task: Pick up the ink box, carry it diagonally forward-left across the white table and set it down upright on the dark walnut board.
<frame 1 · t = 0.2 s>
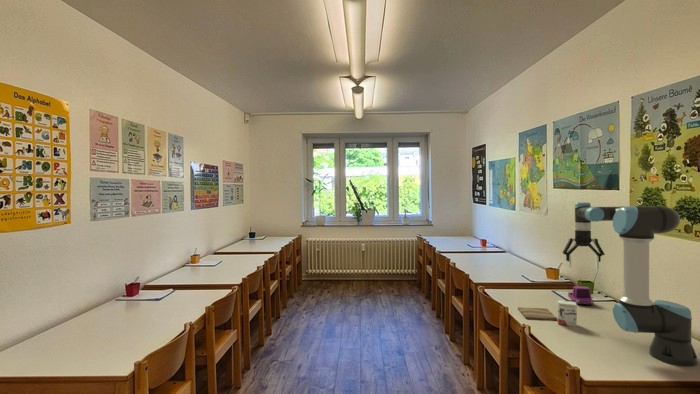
hand: (583, 267, 201), 28 cm above the table, fingers open, 13 cm apart
walnut board: (536, 314, 204), on the table
ink box: (567, 324, 190), on the table
toy truck: (580, 302, 225), on the table
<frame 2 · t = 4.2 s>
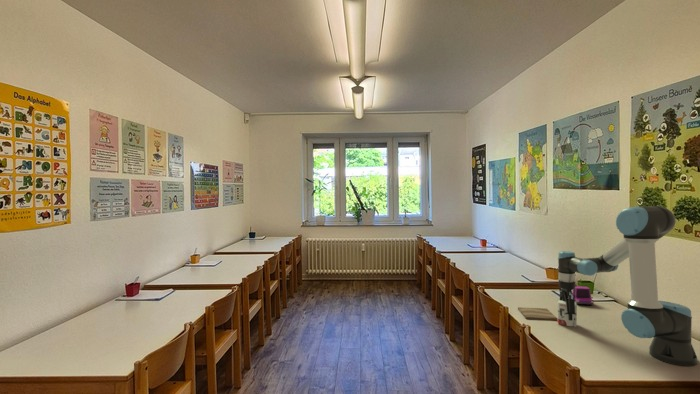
hand: (567, 323, 190), 0 cm above the table, fingers closed on ink box, 6 cm apart
ink box: (567, 324, 190), on the table, touching gripper
everything else where it was.
when the fingers open (3 cm above the table, at t = 9.4 s): ink box drops 1 cm, resting on walnut board.
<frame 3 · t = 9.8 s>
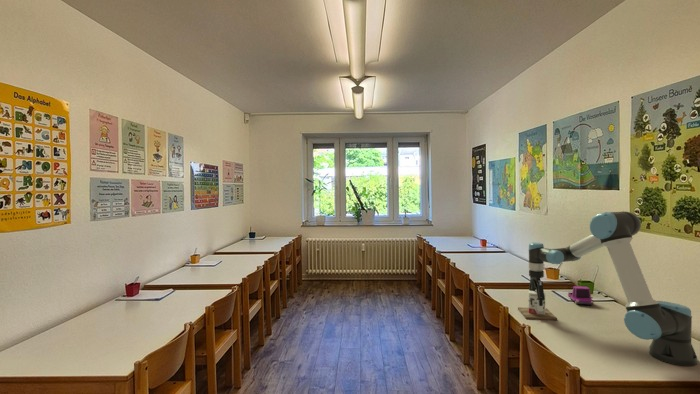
hand: (536, 307, 204), 4 cm above the table, fingers open, 11 cm apart
ink box: (536, 313, 204), point 1 cm above the table, touching walnut board
everything else where it was.
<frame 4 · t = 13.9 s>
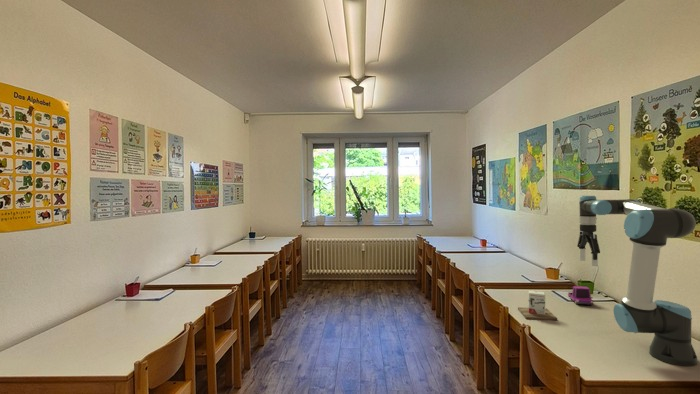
hand: (588, 263, 192), 32 cm above the table, fingers open, 13 cm apart
nothing on the table moved.
at the end: ink box inside the target area on the walnut board (0.1 cm from its centre), point 1.0 cm above the walnut board's base; ink box tilted 0°; the gripper is holding nothing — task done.
